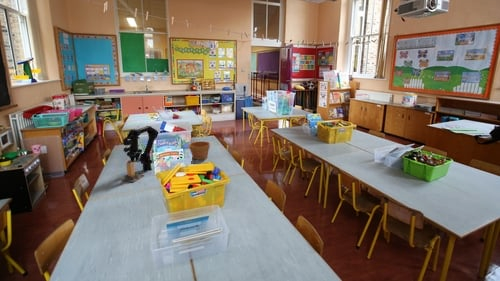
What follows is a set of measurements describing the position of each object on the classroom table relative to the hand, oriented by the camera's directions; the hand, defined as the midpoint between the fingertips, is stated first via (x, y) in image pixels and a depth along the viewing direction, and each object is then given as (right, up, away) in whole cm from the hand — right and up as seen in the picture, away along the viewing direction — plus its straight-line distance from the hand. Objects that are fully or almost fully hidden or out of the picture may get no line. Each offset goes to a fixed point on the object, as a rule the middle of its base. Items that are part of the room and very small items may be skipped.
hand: (134, 161), depth 244 cm
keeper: (0, -14, -3) cm, 14 cm away
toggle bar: (0, -13, -5) cm, 14 cm away
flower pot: (+48, +1, +48) cm, 69 cm away
